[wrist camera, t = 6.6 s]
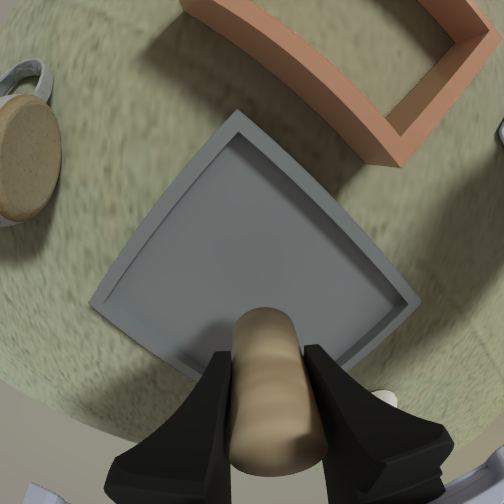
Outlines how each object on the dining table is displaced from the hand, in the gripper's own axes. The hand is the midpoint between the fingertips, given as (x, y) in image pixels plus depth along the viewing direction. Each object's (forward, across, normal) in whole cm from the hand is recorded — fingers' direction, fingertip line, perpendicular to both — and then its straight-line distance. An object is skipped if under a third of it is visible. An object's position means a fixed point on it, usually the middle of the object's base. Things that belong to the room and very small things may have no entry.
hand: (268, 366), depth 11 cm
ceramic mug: (+7, +15, -12) cm, 20 cm away
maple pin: (+2, 0, 0) cm, 2 cm away
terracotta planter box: (+6, -6, -18) cm, 20 cm away
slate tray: (+6, 0, 0) cm, 6 cm away
